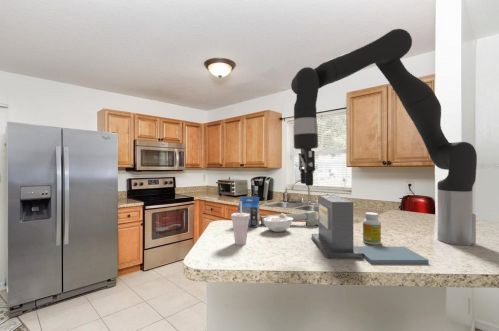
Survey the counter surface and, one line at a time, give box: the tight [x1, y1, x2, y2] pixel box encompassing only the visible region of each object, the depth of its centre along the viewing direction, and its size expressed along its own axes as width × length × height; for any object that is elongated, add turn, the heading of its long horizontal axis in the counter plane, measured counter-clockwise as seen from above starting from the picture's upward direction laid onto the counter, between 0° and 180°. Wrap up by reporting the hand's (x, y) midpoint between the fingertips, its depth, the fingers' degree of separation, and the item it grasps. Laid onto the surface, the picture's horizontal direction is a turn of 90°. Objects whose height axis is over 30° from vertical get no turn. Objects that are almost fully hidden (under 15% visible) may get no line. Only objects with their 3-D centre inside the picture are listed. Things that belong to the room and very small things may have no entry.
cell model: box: [264, 212, 294, 233], centre depth 102 cm, size 10×12×7 cm
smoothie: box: [230, 200, 250, 246], centre depth 86 cm, size 6×6×14 cm
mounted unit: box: [311, 194, 364, 260], centre depth 81 cm, size 10×20×16 cm, turn 179°
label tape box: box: [237, 196, 260, 228], centre depth 110 cm, size 9×4×12 cm, turn 76°
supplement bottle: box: [362, 211, 382, 246], centre depth 86 cm, size 5×5×10 cm
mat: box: [354, 245, 430, 265], centre depth 73 cm, size 15×11×1 cm
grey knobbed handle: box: [259, 210, 319, 227], centre depth 112 cm, size 5×7×25 cm
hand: (306, 184), depth 82 cm, fingers open, 8 cm apart
